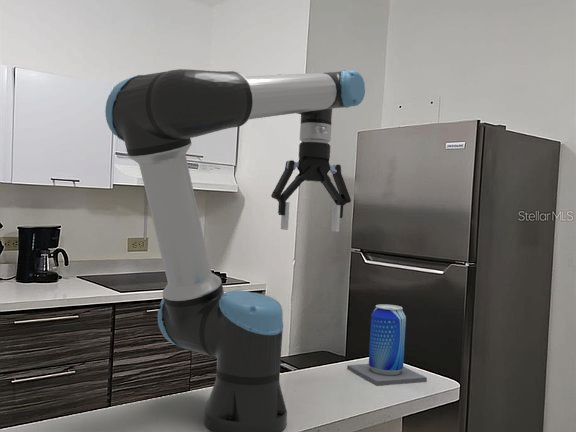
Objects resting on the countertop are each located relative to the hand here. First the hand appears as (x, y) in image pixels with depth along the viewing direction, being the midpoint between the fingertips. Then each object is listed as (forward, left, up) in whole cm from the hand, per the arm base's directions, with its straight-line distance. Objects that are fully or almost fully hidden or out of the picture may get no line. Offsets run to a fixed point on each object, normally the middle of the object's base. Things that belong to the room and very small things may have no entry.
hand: (310, 230), depth 142 cm
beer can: (+20, -6, -34) cm, 40 cm away
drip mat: (+20, -6, -35) cm, 40 cm away
